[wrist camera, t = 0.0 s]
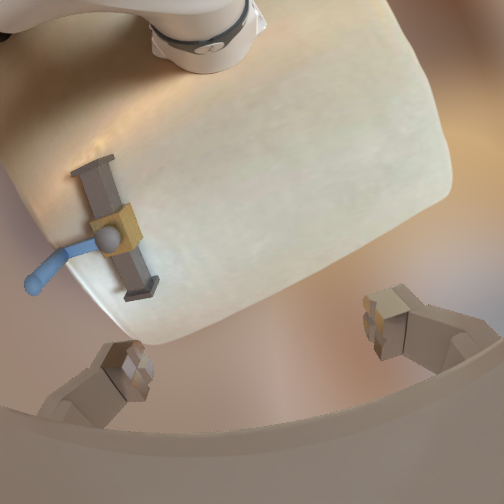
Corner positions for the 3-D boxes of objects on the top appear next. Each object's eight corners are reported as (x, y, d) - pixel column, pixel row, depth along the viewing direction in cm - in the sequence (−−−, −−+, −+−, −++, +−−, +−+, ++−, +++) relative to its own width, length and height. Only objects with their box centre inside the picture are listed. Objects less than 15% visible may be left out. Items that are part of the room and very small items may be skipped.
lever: (115, 222, 41) (77, 261, 29) (125, 245, 43) (92, 290, 31) (55, 243, 42) (15, 280, 30) (65, 263, 44) (29, 303, 32)
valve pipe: (86, 165, 42) (69, 172, 36) (114, 153, 41) (98, 158, 36) (133, 285, 53) (124, 302, 48) (160, 279, 53) (153, 296, 48)
